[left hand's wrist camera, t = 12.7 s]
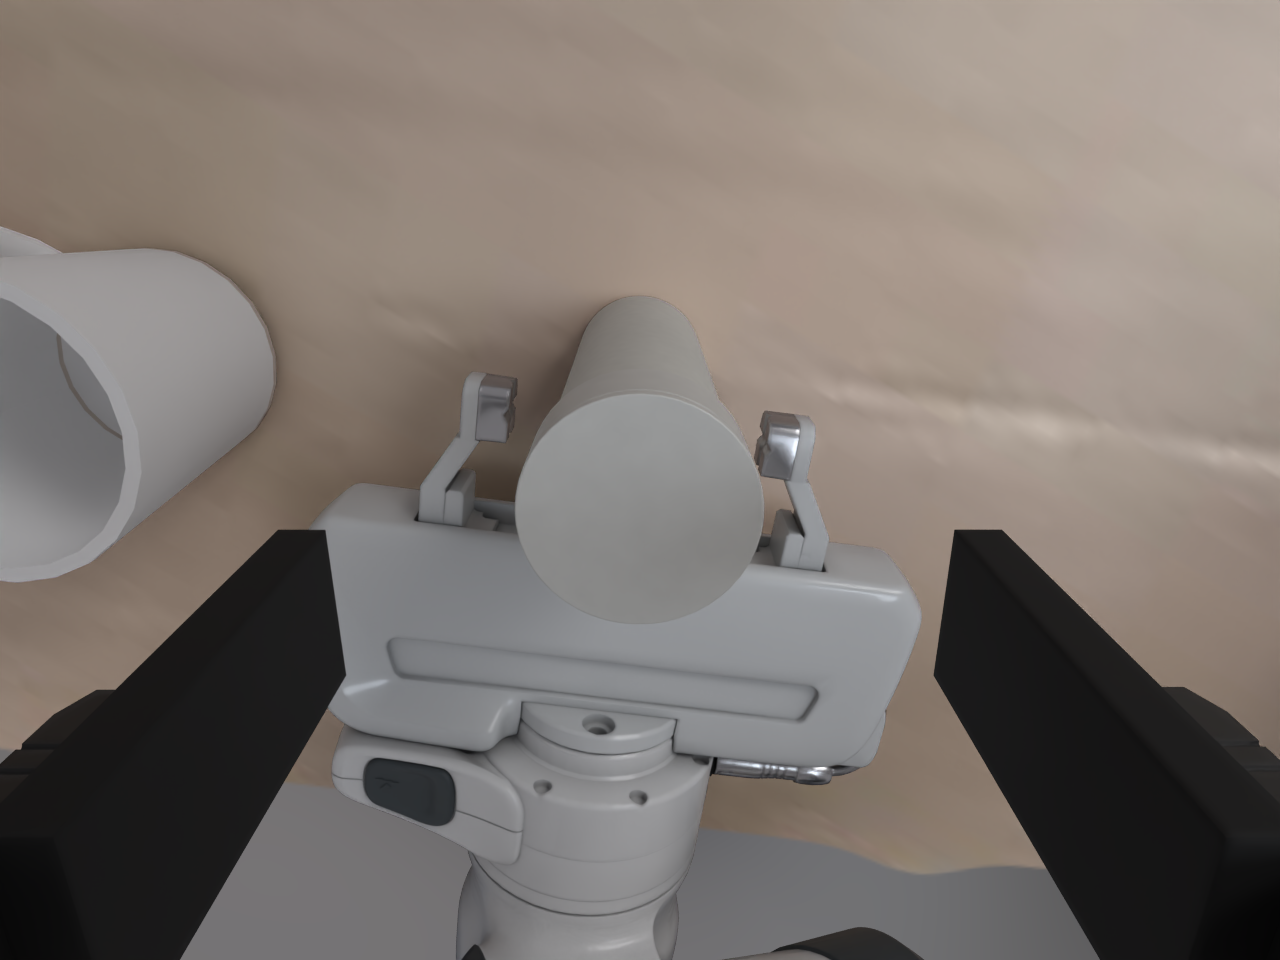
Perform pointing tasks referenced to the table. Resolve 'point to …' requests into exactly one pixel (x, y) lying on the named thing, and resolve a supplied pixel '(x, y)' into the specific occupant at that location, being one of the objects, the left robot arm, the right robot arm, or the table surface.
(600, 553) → the lid
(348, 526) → the right robot arm
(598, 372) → the grey bottle
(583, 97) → the table surface
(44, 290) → the mug
